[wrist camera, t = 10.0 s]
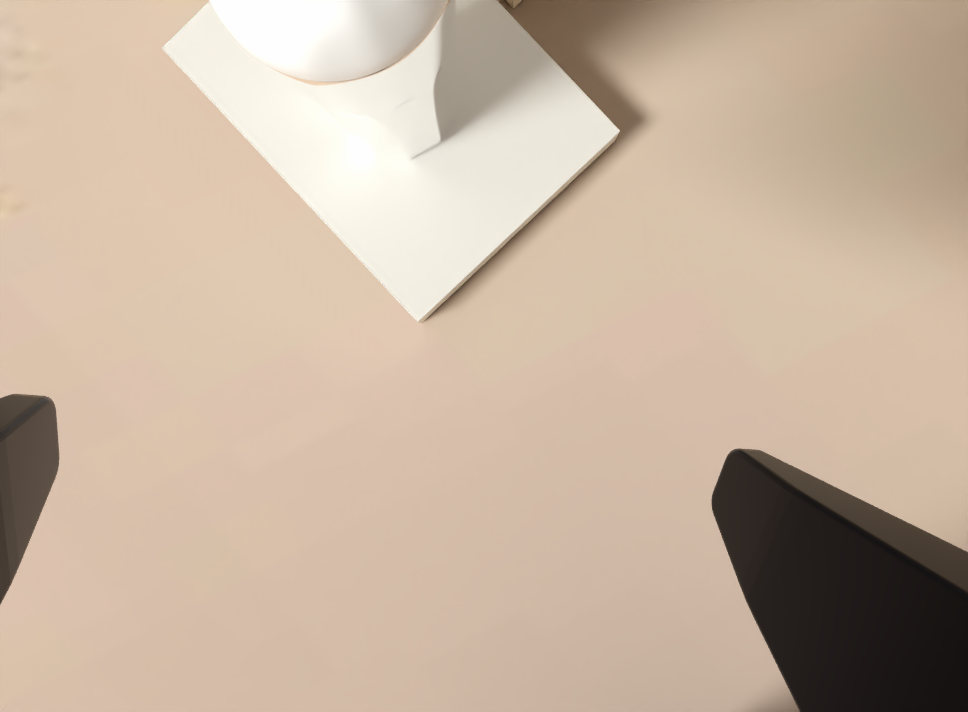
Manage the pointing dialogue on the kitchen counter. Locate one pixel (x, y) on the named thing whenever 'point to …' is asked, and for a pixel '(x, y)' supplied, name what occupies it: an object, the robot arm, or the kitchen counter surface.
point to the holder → (513, 3)
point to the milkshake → (360, 62)
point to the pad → (430, 175)
